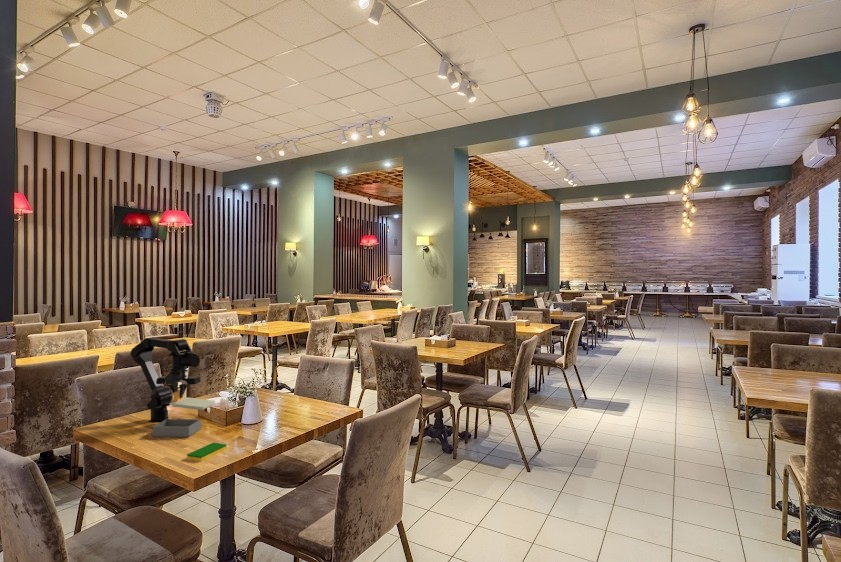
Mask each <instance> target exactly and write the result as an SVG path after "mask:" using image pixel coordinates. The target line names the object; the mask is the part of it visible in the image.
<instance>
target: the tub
mask: <svg viewBox="0 0 841 562" xmlns="http://www.w3.org/2000/svg"><path fill="white" fill-rule="evenodd" d="M200 430H202V419H199V418H195V419H194V418H193V419H192V418H191V419H190V418H188V419H187V418H185V419H184V418H183V419H182V418H168V419H166V420H164V421H162V422H158V423H157V424H155V425H153V426H152V438H190V437H192V436H193V435H195V434H196V433H198V432H199V431H200Z"/></svg>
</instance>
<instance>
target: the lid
mask: <svg viewBox="0 0 841 562" xmlns="http://www.w3.org/2000/svg"><path fill="white" fill-rule="evenodd" d="M172 400H173V401H171V403H169V405H170V406H172V408H173V407H174V408H181V409H190V410H191V409H192V410H196V411H197V410H198V411H203V410H205V409H207V408H208V407H210V406H212V405H213V404H215V403H216V401H215V400H212V399H203V398H202V399H201V398H195V397H188V396H187V397H186V396H184V395H183V396H182V398H180V389H178V391H175V392H174V395H173V397H172Z"/></svg>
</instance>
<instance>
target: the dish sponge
mask: <svg viewBox="0 0 841 562" xmlns="http://www.w3.org/2000/svg"><path fill="white" fill-rule="evenodd" d="M227 446H228V445H227V443H219V442H211V443H209V444H207V445H205V446H202V447H200V448H199V449H196V450H194V451H191V452H189V453H187V454H186V460H188V461H192V460H193V462H198V461H200V462H201V461H202V462H204V461H206V460H208V459H210V458H212V457H214V456H216V455H219V454H220V453H222V452H224V451H226V450H228V449H227V448H228V447H227ZM202 462H201V463H202Z"/></svg>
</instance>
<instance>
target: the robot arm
mask: <svg viewBox="0 0 841 562" xmlns="http://www.w3.org/2000/svg"><path fill="white" fill-rule="evenodd" d="M155 348H162V349H163V348H164V349H166V350H167V351H169V352H170V353H169V354H168V357H171V368H170V370H169V373H168V374H167V375H162V376H159V375H158V373H157V371H156V369H155V366H154V363H153V362H152V358H153V351H154V350H155ZM129 355H130V356H131V358H132V360H133V361H134V362H135V363H136V364H138V365H140V368H141V371H142V372H143V375H144V377H145V379H146V381H147V383H148V384H147V385H148V386H149V388H150V391H151V393H150V401H149V402H148V403H147V405H146V407H147V409H148V410H150V419H149V420H148V422H150V423H154V422H155V423H161V422H162V421H164V420H166V419H170V417H169V410H168V407H169V406H171V405H169V403H171V402H172V400H173V396H174V392H175V391H178V390H180V398H182V396H183V397H184V394H185V392H186V390H187V388H188V386H189V385H196V384H199V383H201V376H197V375H196V376H195V375H194V376H192V375H191V376H190V377H187V376H188V375H187V374H186V370H187V369H188V368H197V367H198V366H199V365H200V362H201V358H200V356H199V355H197V352H193V350H192V348H191V346H190V345H189V343H188V341H187V339H185V338H181V339H165V338H159V337H154V336H152V337H146V338H144V339H142V341H141V342H140V343H138V344H136V345H135V346H134V347H132V349H131V351H130V354H129ZM179 383H180V384H179ZM163 384H165V386H166V387H165V386H164V385H163Z"/></svg>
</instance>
